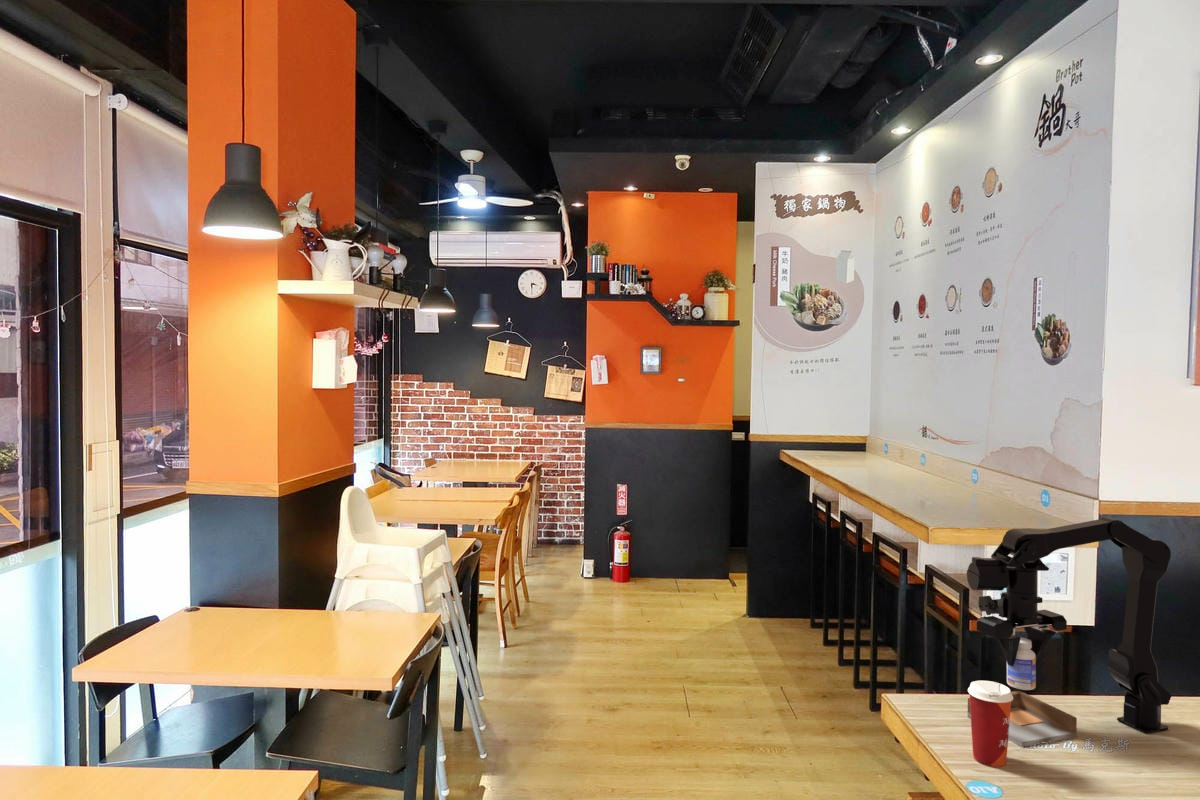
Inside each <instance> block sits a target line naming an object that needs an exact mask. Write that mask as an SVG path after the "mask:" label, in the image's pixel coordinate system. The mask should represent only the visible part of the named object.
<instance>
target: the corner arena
mask: <svg viewBox="0 0 1200 800" xmlns="http://www.w3.org/2000/svg"><path fill="white" fill-rule="evenodd" d="M1011 694H1012V696H1013V700H1012V701H1011V710H1010V723H1009V736H1008V741H1010V742H1012V743H1014V744H1015V743H1016V744H1015V745H1017V746H1019V745H1020V746H1019V747H1020V748H1024V747H1023V746H1026V747H1029V746H1028V745H1031V746H1034V744H1037V745H1039V744H1038V743H1042V742H1048V743H1050V742H1049V741H1053V742H1058V741H1057V740H1059V741H1064V740H1068V738H1070V739H1075V738H1077V733H1078V731H1077V729H1078V728H1077V727H1078V726H1077V723H1078V721H1077V720H1078V718H1077V717H1076V716H1074V715H1073V714H1070V713H1068V712H1066V711H1064V710H1061V709H1060V708H1057V707H1055V706H1053V705H1050V704H1049V703H1046V702H1045V701H1043V700H1040V699H1038V698H1036V697H1034V696H1032V695H1029V694H1027V693H1026V692H1023V691H1021V690H1014V691H1011ZM967 718H969V719H971V711H970V697H967ZM1074 737H1075V738H1074ZM1063 739H1064V740H1063ZM1042 744H1043V743H1042Z"/></svg>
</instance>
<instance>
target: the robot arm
mask: <svg viewBox="0 0 1200 800" xmlns="http://www.w3.org/2000/svg"><path fill="white" fill-rule="evenodd" d="M1104 541H1110V542H1111V543H1112V544H1114V545H1115V546H1117V547H1118V548H1120V549H1121V553H1122V554H1121V555H1122V563H1123V566H1124V567H1125V571H1126V573H1127V576H1128V582H1127V583H1128V584H1127V593H1126V601H1125V612H1124V622H1123V631H1122V632H1123V633H1122V641H1121V644H1120V645H1119V646H1118V647H1117V648H1116V649H1114V648H1110V649H1109V650H1108V662H1107V663H1106V667H1107V668H1109V673H1110V676H1111V677H1112V678H1113V680H1115V681H1116V683H1117V686H1118V688H1119V689H1121V690H1123V691H1125V694H1124V698H1123V699H1124V701H1123V712H1122V713H1123V716H1119V717H1116V720H1117V721H1118V722H1120V723H1123V724H1124V725H1126V726H1129V727H1130V728H1133V729H1135V730H1136V731H1137V730H1138V731H1140V732H1142V733H1144V734H1152V733H1157V732H1162V731H1166V730H1169V726H1167V725H1166V724H1163V723H1162V706H1163V705H1164V706H1165V705H1166V706H1168V705H1169V703H1170V700H1171V698H1172V694H1171V693H1170V692H1169V690H1167V689H1166V688H1165V687H1164V686H1163V685H1162V684H1161V683H1160V682H1159V676H1158V666H1157V664H1156V661H1155V659H1154V656H1153V653H1152V650H1151V649H1152V640H1153V639H1152V637H1153V629H1154V620H1155V612H1156V611H1155V610H1156V602H1157V601H1156V599H1157V592H1158V584H1159V581H1161V579H1162V578H1163V577H1164V575H1166V573H1167V572H1168V569H1169V565H1170V561H1171V559H1172V550H1171V548H1170V547H1169V546H1168V544H1167V543H1166V542H1164V541H1162V540H1159V539H1156V538H1153V537H1150V536H1149V537H1148V536H1146V535H1145V534H1143V533H1142V532H1139V531H1138V530H1136V529H1135V528H1132V527H1130V526H1129V525H1127V524H1126V523H1124V522H1123V521H1122V520H1119V519H1116V518H1114V517H1113V518H1112V517H1110V516H1109V517H1108V516H1104V517H1101V518H1099V519H1093V520H1089V521H1084V522H1078V523H1073V524H1072V523H1071V524H1068V525H1062V526H1061V525H1060V526H1056V527H1052V528H1031V527H1030V528H1028V527H1026V528H1012V529H1009V530H1007V531H1006V532H1005V534H1004V535H1003V536H1002V541H1001V542H1000V544H999V545H998V546H997V548H996V549H995V550H994V552H993V553H992V554H991V555H990V557H980V556H972V557H971V562H970V563H969V565H968V568H967V570H966V580H967V582H968V583H967V584H968V586H969V588H970V589H971V590H972V591H1002V592H1001V594H1000V598H996V599H994V598H992V596H991V595H983V596H978V602H977V603H978V608H979V611H980V612H981V613H982V612H985V615H986V616H983V617H982V616H980V617H979V618H977V620H976V631H979V632H980V633H983V634H985V635H988V636H991V637H992V638H995V639H997V640H998V644H999V645H1000V648H1001V649H1002V653H1003V655H1004V658H1005V661H1006V664H1007V663H1008V665H1010V666H1013V665H1014V662H1015V659H1016V655H1017V651H1018V647H1019V643H1020V636H1019V635H1016V630H1017V629H1024V631H1025V633H1026V635H1027V636H1026V637H1027V639H1029V640H1031V644H1032V648H1031V649H1030V650H1032V651H1033V652H1034V653H1035V655H1036V661H1037V659H1038V658H1039V657H1040V655H1041V653H1042V652H1043V650H1044V648H1045V647H1046V645H1047V644H1048V643H1049V641H1050V640H1051V638H1052V637H1053V636H1055V635H1056V631H1057V632H1059V631H1067V630H1068V629H1067V626H1068V620H1067V619H1066V618H1065V617H1064V615H1062V614H1059V613H1057V612H1054V611H1050V610H1047V609H1039V610H1038V604H1041V603H1043V597H1041V596H1039V594H1038V593H1039V591H1038V579H1039V578H1038V577H1039V576H1038V574H1039V573H1038V572H1040V571H1042V572H1045V571H1046V572H1047V571H1049V570H1050V567H1048V566H1047V565H1046V564H1045V563H1044V562H1043V561H1042V560H1041V559H1043V558H1045V557H1048V556H1049V555H1051V554H1052V553H1053V552H1055V551H1058V550H1061V549H1066V548H1067V549H1068V548H1071V547H1077V546H1083V545H1087V544H1094V543H1098V542H1104ZM1010 555H1011V556H1010ZM1004 589H1006V591H1004V592H1003V590H1004ZM994 614H995V615H998V617H996V616H994ZM999 617H1000V618H999ZM1004 618H1005V619H1004ZM1050 625H1051V627H1050ZM1051 628H1052V629H1053V630H1054V631H1053V630H1051Z"/></svg>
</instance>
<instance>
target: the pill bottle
mask: <svg viewBox="0 0 1200 800" xmlns="http://www.w3.org/2000/svg"><path fill="white" fill-rule="evenodd" d="M1019 637H1020V636H1019ZM1031 648H1032V644H1031V640H1029V639H1028V638H1026V637H1020V643H1019V647H1018V651H1017V655H1016V659H1015V662H1014V665H1013V666H1010V665H1008V663H1007V662H1006V683H1007V685H1008V686H1009V687H1012V688H1015V689H1017V690H1020V691H1021V690H1023V691H1031V690H1035V689H1036V686H1037V672H1036V671H1037V670H1036V669H1037V668H1036V667H1037V665H1036V664H1037V663H1036V662H1037V660H1036V655H1035V653H1034V652H1033V651H1032V650H1030V649H1031Z"/></svg>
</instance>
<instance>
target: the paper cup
mask: <svg viewBox="0 0 1200 800" xmlns="http://www.w3.org/2000/svg"><path fill="white" fill-rule="evenodd" d="M967 692H968V693H969V698H970V711H971V718H970V728H971V745H972V756H973V759H974V760H975V761H976V762H977V763H978V764H980V765H983V766H986V767H990V768H1002V767H1004V766H1006V764H1007V756H1008V745H1009V740H1008V736H1009V723H1010V710H1011V701H1012V700H1013V696H1012V694H1011V692H1012V691H1011V689H1010V688H1009V687H1008V686H1006V685H1004V684H1002V683H999V682H997V681H992V680H991V681H990V680H982V679H981V680H975V681H974V680H973V681H971V682H970V685H969V687H968V688H967Z"/></svg>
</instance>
